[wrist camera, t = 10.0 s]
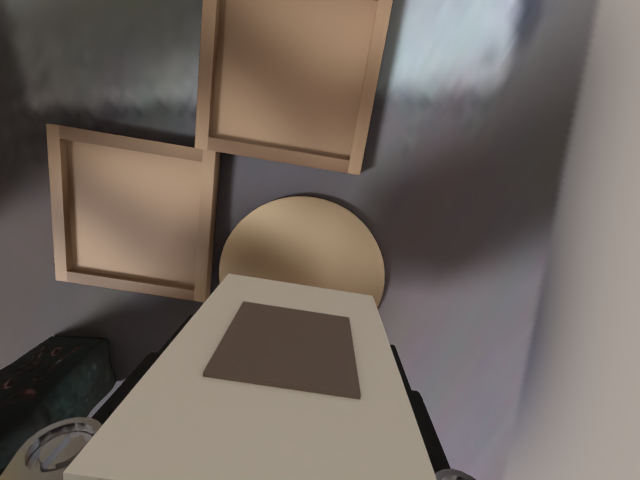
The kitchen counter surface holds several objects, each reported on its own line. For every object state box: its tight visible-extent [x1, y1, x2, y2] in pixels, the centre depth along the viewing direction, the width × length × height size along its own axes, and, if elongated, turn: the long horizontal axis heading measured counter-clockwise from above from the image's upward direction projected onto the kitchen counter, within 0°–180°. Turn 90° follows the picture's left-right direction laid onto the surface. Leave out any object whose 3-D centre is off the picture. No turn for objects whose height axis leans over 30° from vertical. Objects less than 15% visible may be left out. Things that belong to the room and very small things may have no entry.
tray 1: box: [46, 123, 221, 302], centre depth 16 cm, size 8×8×1 cm
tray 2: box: [195, 0, 393, 175], centre depth 14 cm, size 8×8×1 cm
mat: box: [219, 196, 385, 308], centre depth 17 cm, size 9×9×1 cm
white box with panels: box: [63, 274, 437, 480], centre depth 8 cm, size 5×5×7 cm
